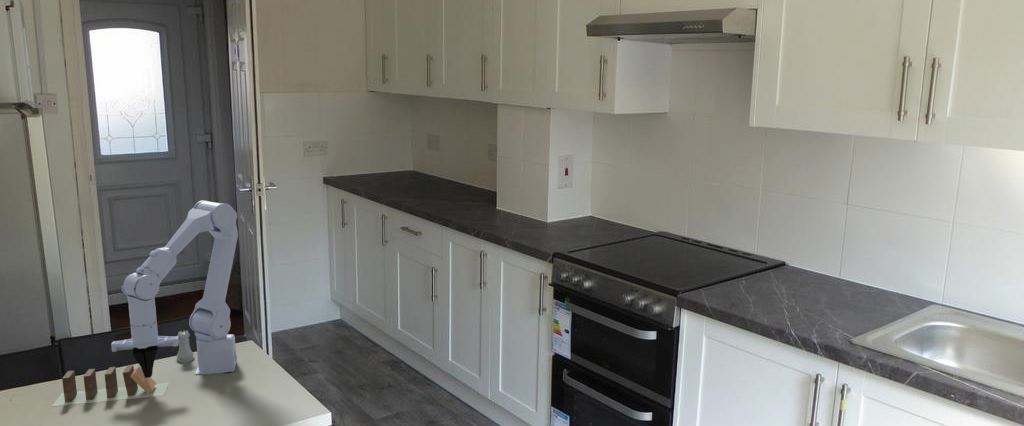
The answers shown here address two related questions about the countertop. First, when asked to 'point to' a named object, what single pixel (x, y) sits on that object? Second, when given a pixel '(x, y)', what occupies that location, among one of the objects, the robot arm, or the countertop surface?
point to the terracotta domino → (143, 380)
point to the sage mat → (120, 395)
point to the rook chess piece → (184, 348)
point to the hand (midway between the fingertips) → (148, 376)
